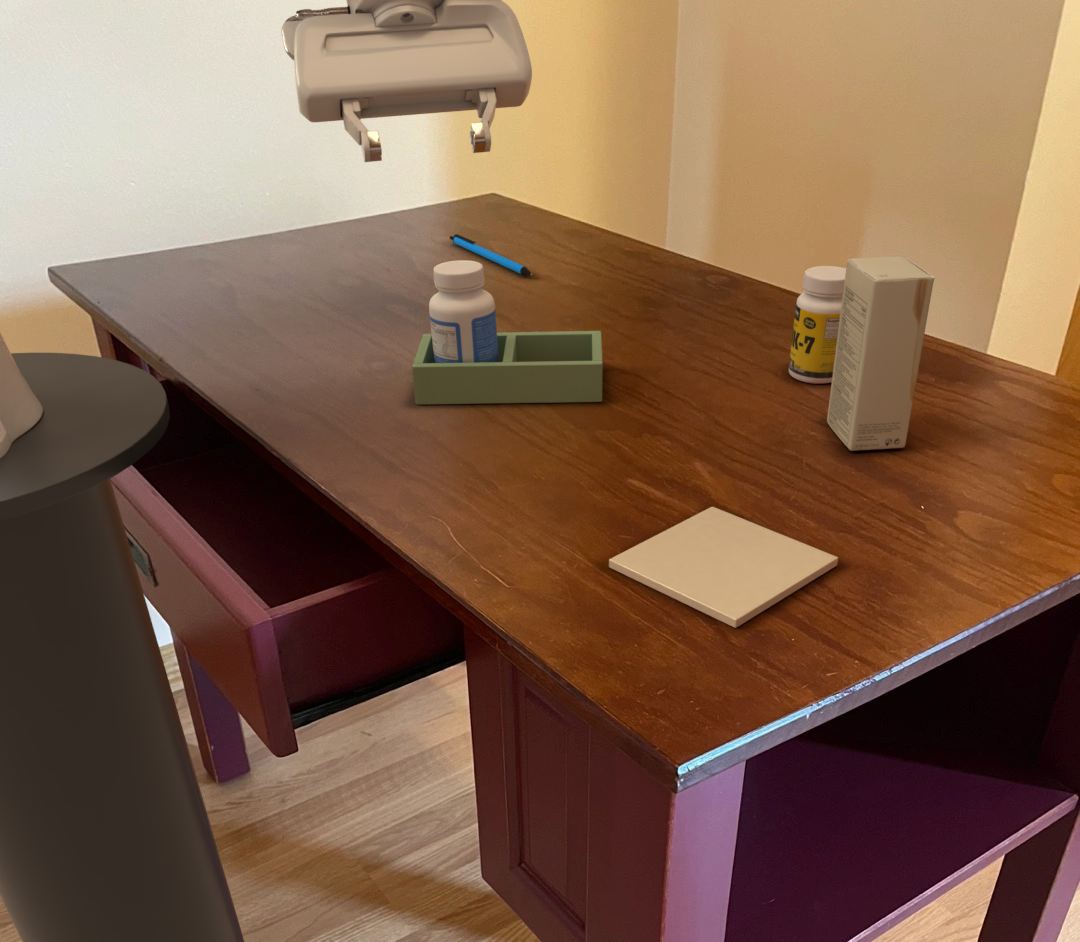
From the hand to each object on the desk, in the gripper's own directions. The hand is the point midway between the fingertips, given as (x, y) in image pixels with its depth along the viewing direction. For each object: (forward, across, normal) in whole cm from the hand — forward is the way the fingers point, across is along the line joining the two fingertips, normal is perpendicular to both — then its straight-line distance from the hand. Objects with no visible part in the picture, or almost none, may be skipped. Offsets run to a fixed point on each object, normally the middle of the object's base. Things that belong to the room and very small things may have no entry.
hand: (428, 152), depth 92 cm
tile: (+44, +9, -23) cm, 51 cm away
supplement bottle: (+25, +29, -2) cm, 38 cm away
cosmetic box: (+34, +27, -11) cm, 45 cm away
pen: (-6, +10, +29) cm, 31 cm away
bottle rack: (+21, +3, +2) cm, 21 cm away
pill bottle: (+20, 0, +2) cm, 20 cm away
